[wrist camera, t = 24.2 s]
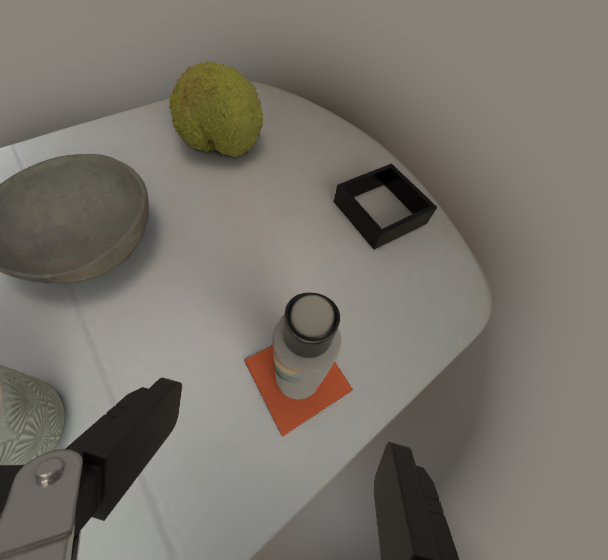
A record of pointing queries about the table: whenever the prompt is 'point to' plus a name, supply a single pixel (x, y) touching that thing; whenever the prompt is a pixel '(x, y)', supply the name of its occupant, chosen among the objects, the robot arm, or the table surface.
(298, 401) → the mat
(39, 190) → the bowl
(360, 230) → the holder
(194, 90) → the fruit
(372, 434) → the table surface
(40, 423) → the planter
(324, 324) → the lotion bottle
